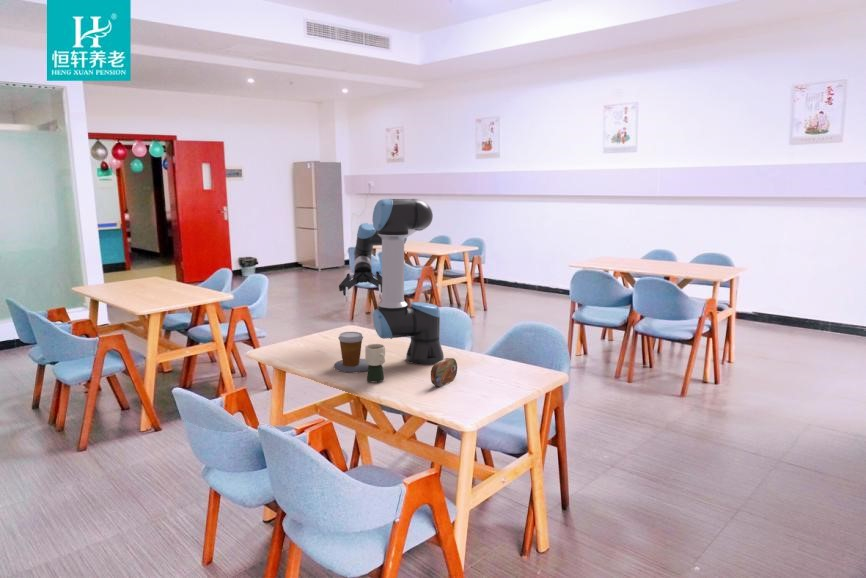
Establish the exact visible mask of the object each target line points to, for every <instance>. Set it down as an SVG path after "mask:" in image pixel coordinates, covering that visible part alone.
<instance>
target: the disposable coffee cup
mask: <svg viewBox="0 0 866 578" xmlns="http://www.w3.org/2000/svg"><path fill="white" fill-rule="evenodd" d="M338 340H339V347H340V354H341V359H342V361H343V365H344V366H348V367H352V366H357V365H359V361H360V359H361V351H362V343H363V340H364V336H363V333H361V332H358V331H345V332H341V333H339V336H338Z"/></svg>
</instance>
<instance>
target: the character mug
mask: <svg viewBox="0 0 866 578" xmlns="http://www.w3.org/2000/svg"><path fill="white" fill-rule="evenodd" d="M364 353H365V358H364V359H366V364H367V365H369V366H368V371H366V381H367V382H370V383H376V382H377V383H379V382H383V381H384V380H385V373H384V368H383V366H382V365H384V364H385V362H386V346H385V345H384V344H383V343H371V344H370V343H369V344H367V345H365V352H364Z"/></svg>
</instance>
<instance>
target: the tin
mask: <svg viewBox="0 0 866 578" xmlns="http://www.w3.org/2000/svg"><path fill="white" fill-rule="evenodd" d="M457 374H458V363H457V361H456V359H455V358H453V357H445V358H444V359H443V360H441V361H439V362H437V363H435V364H432V367H431V369H430V381H431V383H432V385H433V386H436V387H440V388H441V387H444V386H445V385H447V384H448V383H449V384H450V383H451V382H453V380H455V378H456V377H457Z"/></svg>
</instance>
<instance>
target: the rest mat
mask: <svg viewBox="0 0 866 578" xmlns="http://www.w3.org/2000/svg"><path fill="white" fill-rule="evenodd" d="M368 366H369V365H367V364H366V358H360V361H359V365H357V366H352V367H348V366H344V365H343V361H342V360H339V361H336V362H334V364H333V369H334V368H335V369H334V370H335V371H337V370H338V372H341V373H346V374H347V373H349V374H351V373H352V374H354V373H353V372H358V373H364V372H367V371H368Z"/></svg>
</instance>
